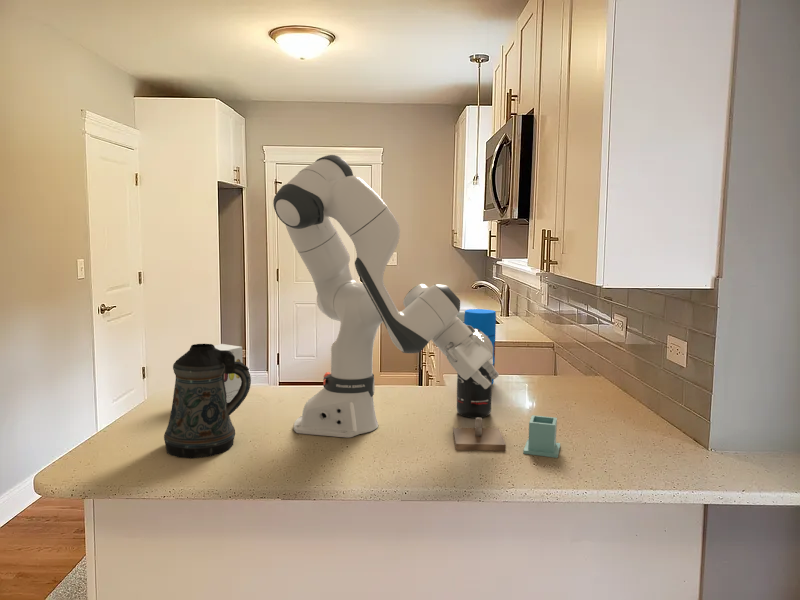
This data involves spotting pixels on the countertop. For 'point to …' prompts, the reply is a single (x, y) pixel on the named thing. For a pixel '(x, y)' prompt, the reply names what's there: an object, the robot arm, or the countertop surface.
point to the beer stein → (204, 402)
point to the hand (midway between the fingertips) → (492, 381)
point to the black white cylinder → (475, 389)
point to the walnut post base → (478, 438)
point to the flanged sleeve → (542, 437)
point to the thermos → (483, 324)
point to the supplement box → (233, 379)
